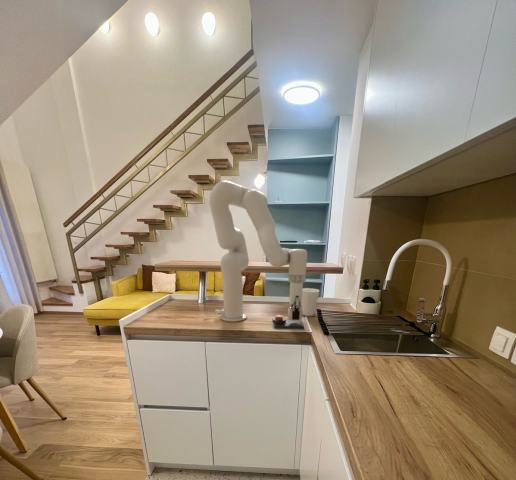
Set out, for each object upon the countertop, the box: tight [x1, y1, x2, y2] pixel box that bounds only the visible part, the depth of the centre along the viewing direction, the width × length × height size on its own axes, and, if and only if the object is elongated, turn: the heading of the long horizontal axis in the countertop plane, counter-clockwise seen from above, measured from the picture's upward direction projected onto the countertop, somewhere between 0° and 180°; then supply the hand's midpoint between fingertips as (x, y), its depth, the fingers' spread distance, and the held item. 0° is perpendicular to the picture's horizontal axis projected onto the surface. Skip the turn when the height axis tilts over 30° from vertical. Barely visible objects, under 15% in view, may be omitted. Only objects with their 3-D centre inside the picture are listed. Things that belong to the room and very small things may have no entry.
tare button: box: [275, 314, 284, 320], centre depth 131 cm, size 3×3×2 cm
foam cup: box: [300, 287, 320, 317], centre depth 147 cm, size 10×9×13 cm
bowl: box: [287, 306, 303, 320], centre depth 130 cm, size 7×7×5 cm
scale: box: [272, 316, 305, 330], centre depth 131 cm, size 14×11×3 cm
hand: (294, 316), depth 130 cm, fingers closed on bowl, 6 cm apart
